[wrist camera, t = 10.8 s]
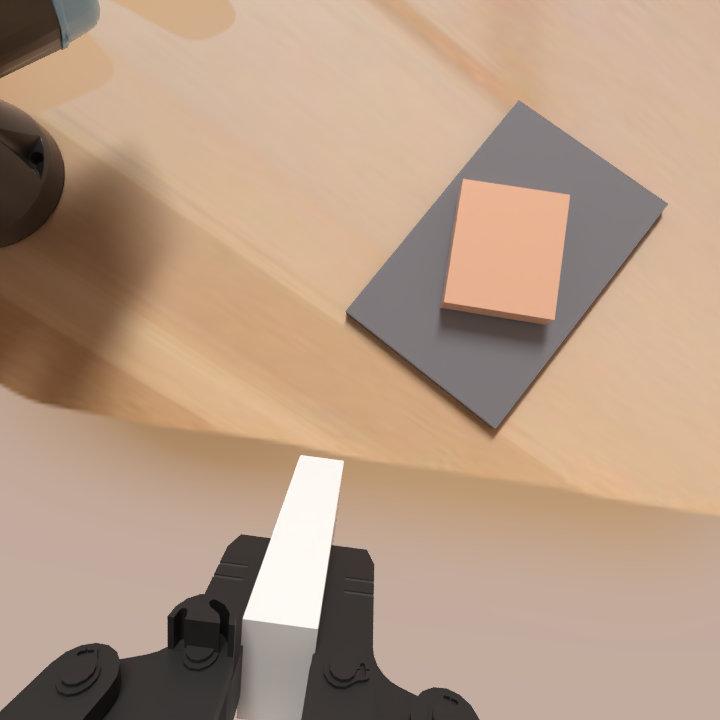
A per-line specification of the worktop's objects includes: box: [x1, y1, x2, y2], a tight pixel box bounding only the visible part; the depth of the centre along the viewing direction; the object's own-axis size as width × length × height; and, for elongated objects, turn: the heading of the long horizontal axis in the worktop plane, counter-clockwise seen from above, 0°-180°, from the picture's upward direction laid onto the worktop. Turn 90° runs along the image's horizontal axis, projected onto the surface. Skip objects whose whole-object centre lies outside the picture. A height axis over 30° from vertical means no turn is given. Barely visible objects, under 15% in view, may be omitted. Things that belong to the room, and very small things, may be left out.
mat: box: [346, 101, 668, 429], centre depth 43 cm, size 18×28×1 cm, turn 141°
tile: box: [440, 179, 570, 325], centre depth 41 cm, size 2×10×12 cm
